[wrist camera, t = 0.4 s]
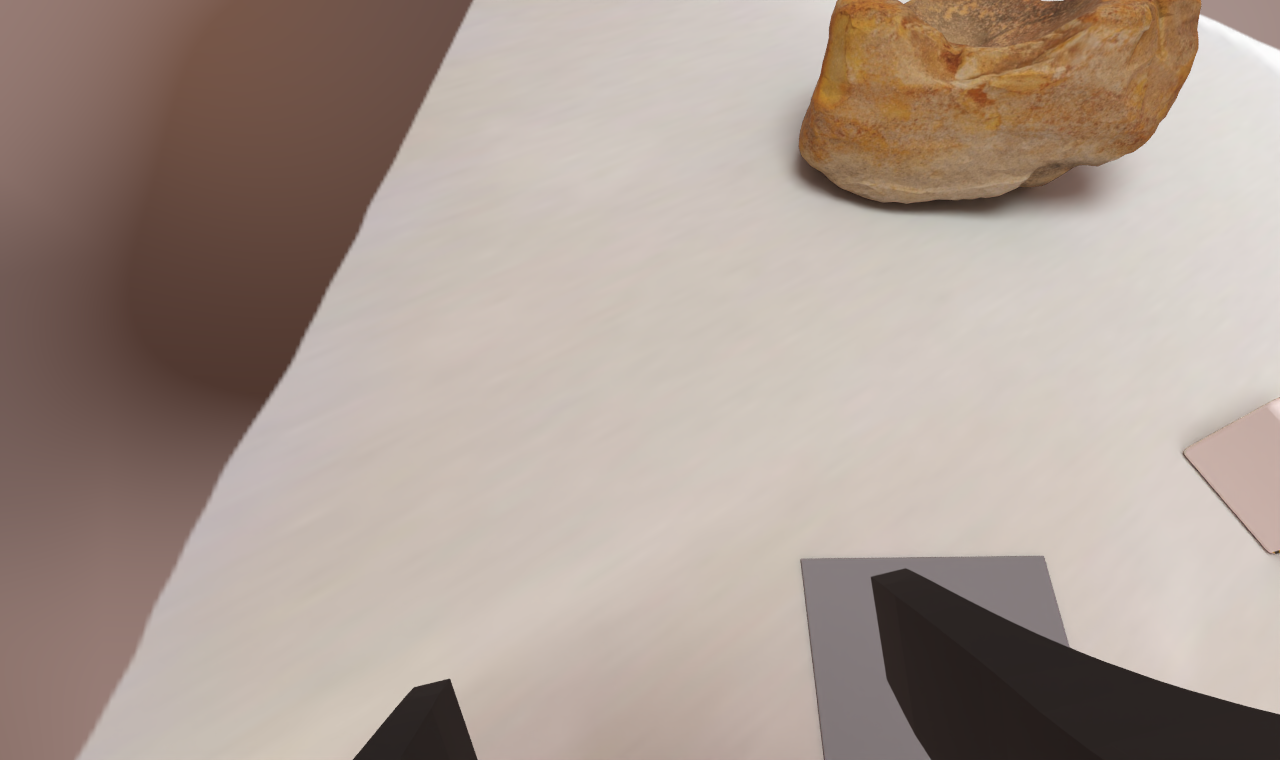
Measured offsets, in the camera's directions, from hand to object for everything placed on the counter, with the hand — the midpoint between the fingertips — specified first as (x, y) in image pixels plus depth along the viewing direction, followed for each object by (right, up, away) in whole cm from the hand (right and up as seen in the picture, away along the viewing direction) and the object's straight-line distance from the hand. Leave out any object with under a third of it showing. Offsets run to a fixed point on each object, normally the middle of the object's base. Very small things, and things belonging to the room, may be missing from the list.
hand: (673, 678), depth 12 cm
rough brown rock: (+23, +24, +45) cm, 56 cm away
